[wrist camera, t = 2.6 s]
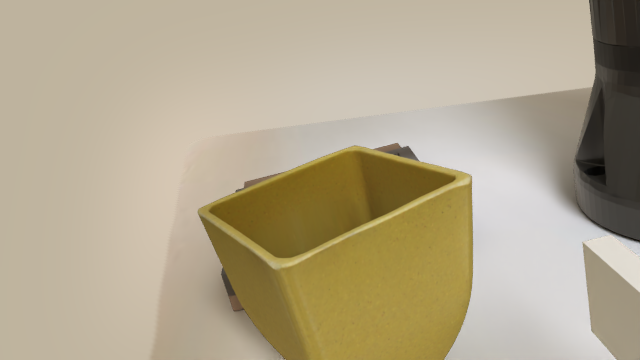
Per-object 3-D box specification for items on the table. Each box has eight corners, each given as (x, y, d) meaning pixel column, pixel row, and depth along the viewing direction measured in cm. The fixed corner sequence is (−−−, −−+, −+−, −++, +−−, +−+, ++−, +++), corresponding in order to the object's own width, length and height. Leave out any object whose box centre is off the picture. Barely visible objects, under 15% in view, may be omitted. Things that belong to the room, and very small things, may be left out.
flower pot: (389, 292, 34) (353, 140, 31) (508, 361, 27) (476, 171, 24) (249, 370, 30) (192, 208, 27) (340, 476, 23) (277, 269, 20)
